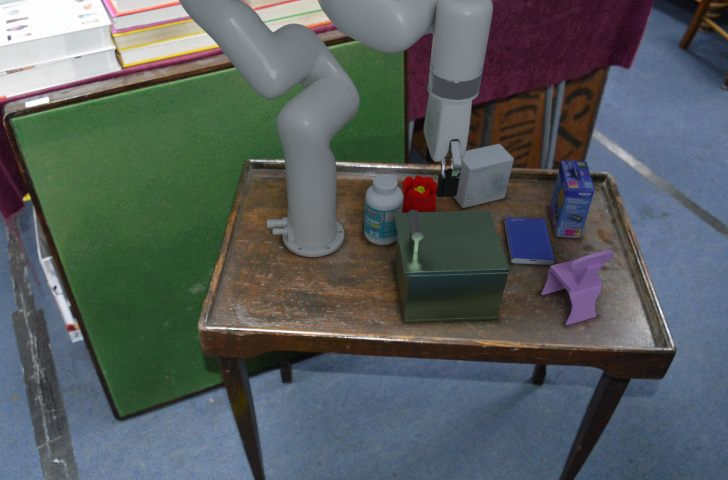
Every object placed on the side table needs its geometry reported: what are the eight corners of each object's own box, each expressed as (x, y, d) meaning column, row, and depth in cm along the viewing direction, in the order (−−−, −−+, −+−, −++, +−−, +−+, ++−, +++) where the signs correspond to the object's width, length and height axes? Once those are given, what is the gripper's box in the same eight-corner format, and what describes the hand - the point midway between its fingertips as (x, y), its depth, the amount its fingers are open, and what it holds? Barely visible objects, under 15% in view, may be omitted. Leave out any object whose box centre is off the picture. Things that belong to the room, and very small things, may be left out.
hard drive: (505, 216, 136) (512, 257, 128) (545, 218, 136) (555, 259, 127) (503, 222, 137) (510, 263, 129) (544, 224, 137) (553, 265, 128)
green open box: (404, 323, 118) (409, 276, 110) (394, 263, 129) (398, 216, 121) (496, 320, 118) (508, 272, 110) (479, 260, 129) (489, 213, 121)
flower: (391, 218, 139) (393, 187, 133) (409, 199, 143) (412, 168, 138) (424, 231, 136) (428, 200, 130) (442, 212, 140) (446, 181, 134)
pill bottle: (357, 229, 136) (358, 176, 127) (388, 219, 139) (391, 165, 129) (375, 251, 131) (378, 197, 122) (407, 240, 134) (412, 185, 124)
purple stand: (573, 282, 125) (594, 221, 114) (601, 315, 119) (627, 253, 108) (534, 293, 123) (553, 231, 112) (561, 326, 117) (583, 265, 106)
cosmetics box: (463, 209, 141) (470, 168, 133) (449, 192, 145) (455, 152, 137) (506, 199, 143) (515, 158, 136) (491, 182, 147) (499, 141, 140)
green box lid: (404, 275, 109) (406, 252, 106) (394, 216, 121) (396, 193, 117) (508, 272, 110) (514, 248, 106) (489, 213, 121) (493, 190, 117)
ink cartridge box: (546, 207, 141) (562, 149, 131) (573, 208, 140) (591, 150, 130) (553, 237, 134) (570, 178, 124) (581, 239, 133) (601, 180, 123)
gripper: (419, 54, 102) (409, 148, 114) (439, 113, 90) (426, 211, 102) (467, 52, 102) (452, 147, 114) (494, 111, 90) (474, 209, 102)
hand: (440, 177), depth 108 cm, fingers open, 9 cm apart
